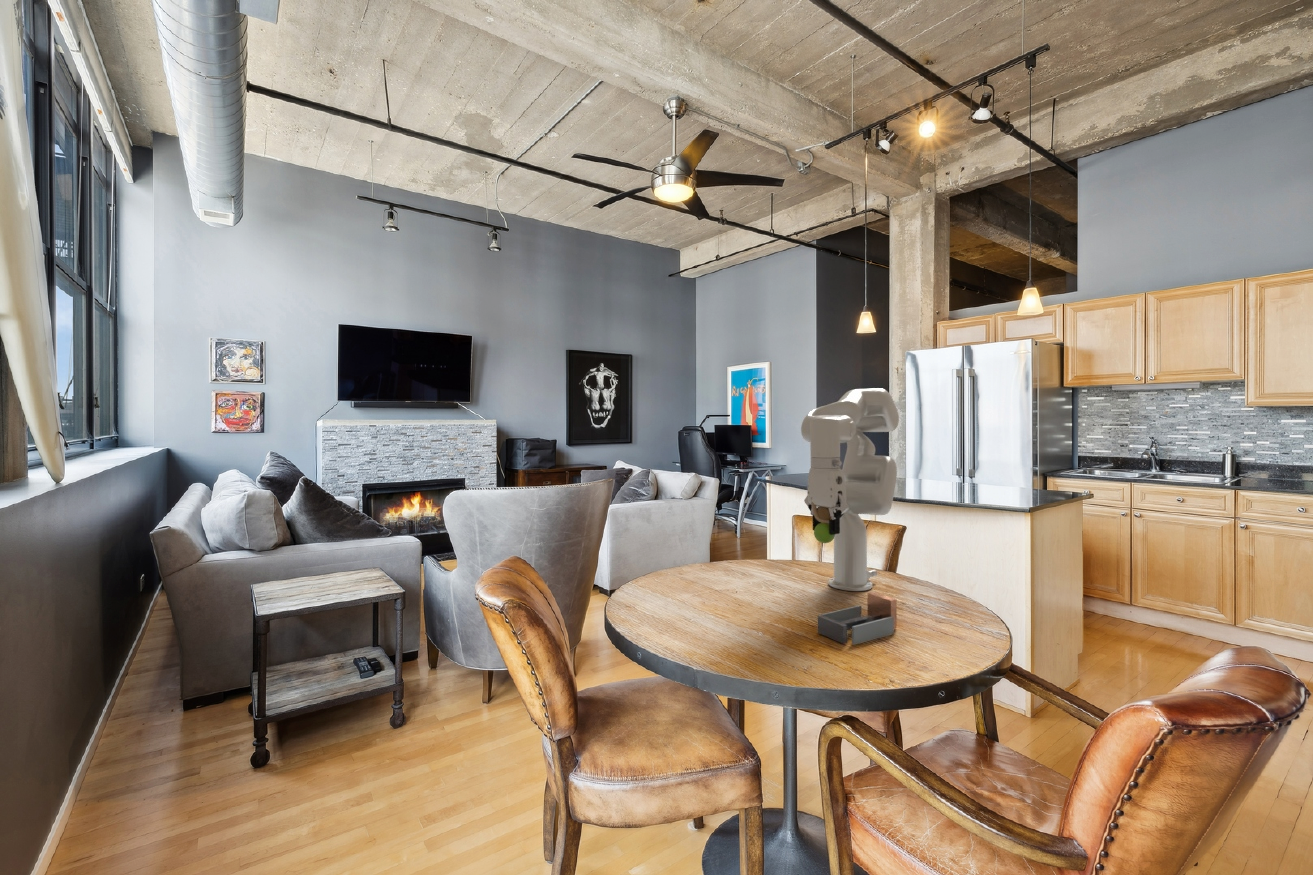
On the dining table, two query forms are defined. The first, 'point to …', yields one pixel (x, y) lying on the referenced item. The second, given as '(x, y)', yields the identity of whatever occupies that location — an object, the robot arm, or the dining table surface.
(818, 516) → the snail figurine
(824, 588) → the dining table surface
